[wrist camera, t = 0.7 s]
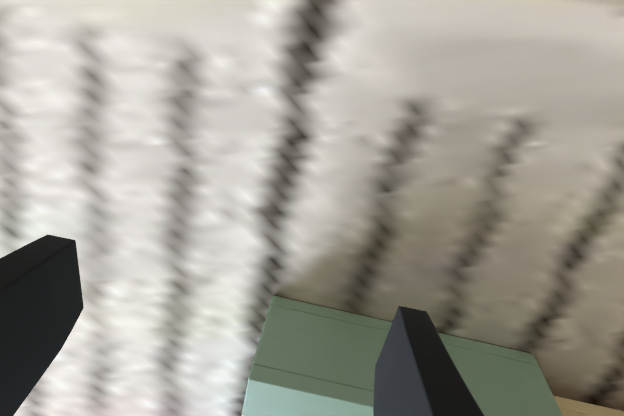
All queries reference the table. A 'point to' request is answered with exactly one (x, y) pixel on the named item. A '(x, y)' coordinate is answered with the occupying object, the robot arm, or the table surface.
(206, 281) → the table surface
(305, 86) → the table surface
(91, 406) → the table surface
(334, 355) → the cabinet
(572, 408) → the drawer
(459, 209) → the table surface
